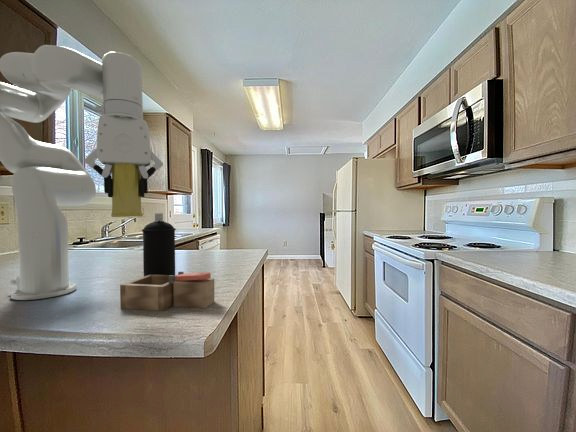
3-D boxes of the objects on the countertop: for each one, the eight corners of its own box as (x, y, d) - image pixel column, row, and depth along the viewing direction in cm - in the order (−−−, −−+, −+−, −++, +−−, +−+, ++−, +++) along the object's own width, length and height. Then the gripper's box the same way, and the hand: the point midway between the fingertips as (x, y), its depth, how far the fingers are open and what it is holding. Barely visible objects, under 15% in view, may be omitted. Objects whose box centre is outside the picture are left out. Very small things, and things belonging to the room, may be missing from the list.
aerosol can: (183, 286, 79) (182, 213, 79) (158, 294, 72) (157, 213, 71) (161, 283, 83) (160, 213, 82) (135, 290, 75) (134, 213, 75)
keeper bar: (170, 281, 63) (170, 276, 63) (178, 278, 66) (177, 273, 66) (207, 279, 62) (206, 275, 62) (212, 276, 65) (212, 272, 65)
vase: (108, 217, 60) (106, 147, 60) (113, 217, 65) (111, 153, 65) (141, 216, 62) (139, 149, 62) (143, 216, 68) (141, 155, 68)
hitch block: (120, 308, 62) (120, 277, 62) (150, 294, 72) (149, 268, 71) (199, 312, 59) (199, 280, 59) (219, 298, 69) (219, 270, 68)
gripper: (71, 103, 57) (75, 196, 57) (167, 113, 64) (169, 195, 64) (80, 115, 63) (83, 198, 64) (165, 123, 71) (168, 197, 71)
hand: (127, 196), depth 64 cm, fingers closed on vase, 5 cm apart
